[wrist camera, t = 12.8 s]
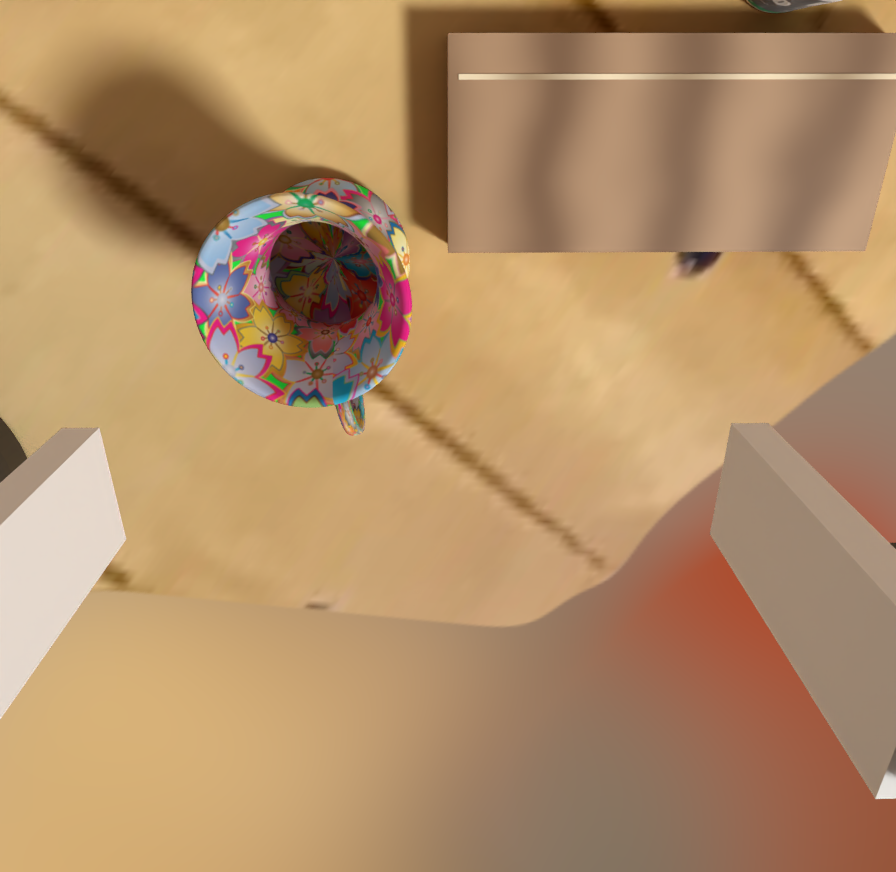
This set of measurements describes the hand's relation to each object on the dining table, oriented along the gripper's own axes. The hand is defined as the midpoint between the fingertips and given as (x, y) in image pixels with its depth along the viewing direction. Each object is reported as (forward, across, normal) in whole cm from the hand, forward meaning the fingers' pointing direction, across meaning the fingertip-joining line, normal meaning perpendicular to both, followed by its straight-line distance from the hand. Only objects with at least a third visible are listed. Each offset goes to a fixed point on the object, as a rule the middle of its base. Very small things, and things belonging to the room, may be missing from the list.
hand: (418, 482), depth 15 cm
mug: (+27, -5, -2) cm, 27 cm away
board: (+27, +12, +5) cm, 30 cm away
